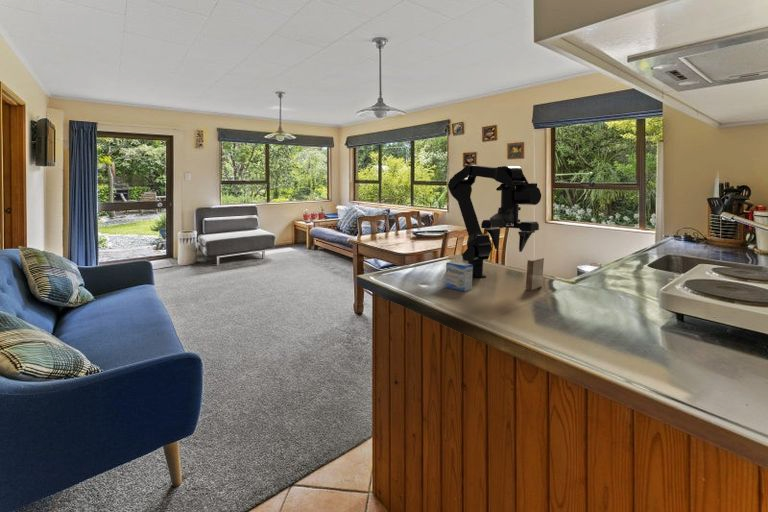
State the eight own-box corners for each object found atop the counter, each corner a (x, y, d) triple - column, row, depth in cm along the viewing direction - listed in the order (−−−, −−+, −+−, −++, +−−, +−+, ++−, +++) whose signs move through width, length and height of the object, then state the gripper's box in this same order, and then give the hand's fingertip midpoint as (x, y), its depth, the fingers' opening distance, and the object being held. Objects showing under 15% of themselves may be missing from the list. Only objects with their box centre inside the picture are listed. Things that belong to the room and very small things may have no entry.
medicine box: (444, 287, 139) (445, 262, 137) (452, 285, 142) (453, 260, 140) (464, 291, 133) (465, 265, 132) (472, 289, 136) (473, 263, 135)
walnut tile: (525, 289, 136) (527, 260, 134) (536, 285, 140) (538, 257, 139) (531, 290, 134) (533, 261, 132) (541, 287, 139) (544, 258, 137)
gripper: (472, 204, 139) (471, 250, 141) (522, 205, 125) (520, 256, 128) (491, 203, 146) (489, 246, 149) (540, 204, 132) (538, 252, 135)
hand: (508, 250), depth 140 cm, fingers open, 9 cm apart
